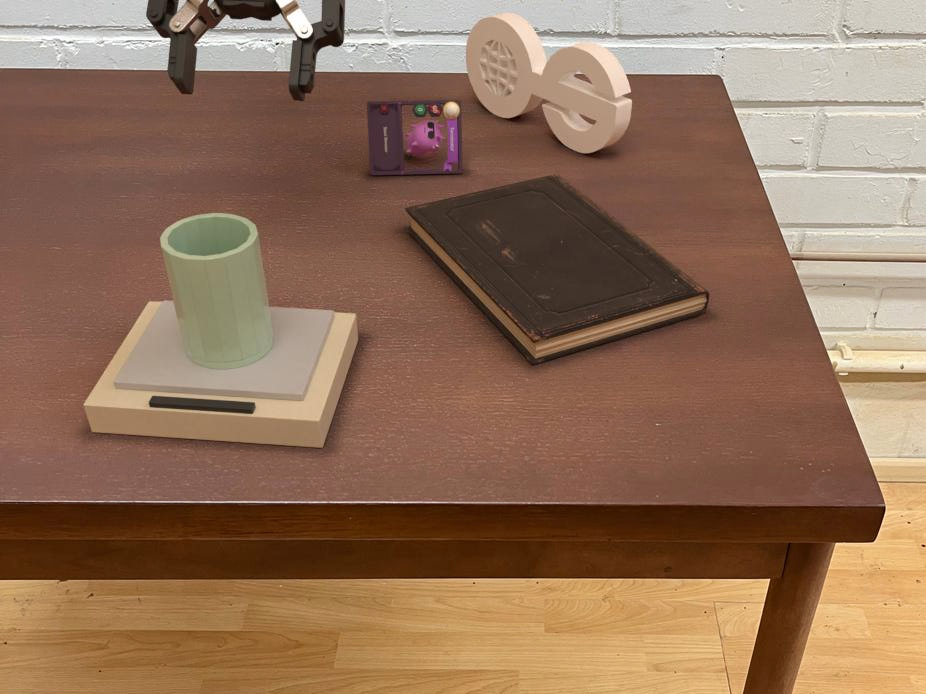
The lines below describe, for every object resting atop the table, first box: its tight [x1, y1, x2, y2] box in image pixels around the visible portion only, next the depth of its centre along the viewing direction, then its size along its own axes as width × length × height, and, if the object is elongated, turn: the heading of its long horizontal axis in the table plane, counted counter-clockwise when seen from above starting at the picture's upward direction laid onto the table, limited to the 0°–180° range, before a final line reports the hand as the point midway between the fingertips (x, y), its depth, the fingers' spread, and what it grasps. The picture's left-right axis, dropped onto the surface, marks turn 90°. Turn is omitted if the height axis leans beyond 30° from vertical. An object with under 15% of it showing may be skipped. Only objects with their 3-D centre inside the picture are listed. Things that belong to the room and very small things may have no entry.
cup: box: [159, 212, 274, 369], centre depth 68 cm, size 6×6×8 cm
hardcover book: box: [404, 173, 710, 366], centre depth 84 cm, size 16×23×2 cm
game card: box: [366, 99, 464, 176], centre depth 99 cm, size 7×5×9 cm
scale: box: [83, 300, 359, 449], centre depth 72 cm, size 16×13×3 cm
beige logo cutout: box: [465, 12, 633, 154], centre depth 103 cm, size 22×2×10 cm, turn 42°
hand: (239, 93), depth 74 cm, fingers open, 8 cm apart
